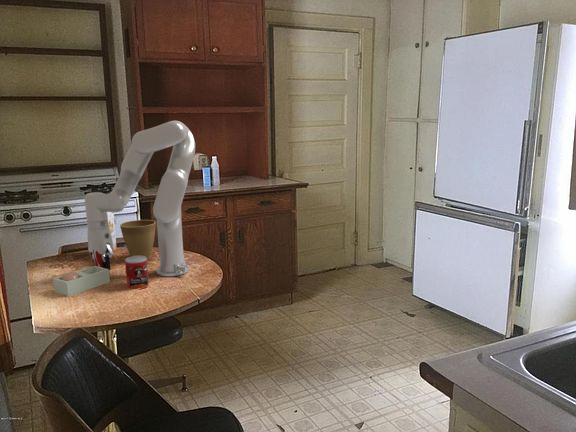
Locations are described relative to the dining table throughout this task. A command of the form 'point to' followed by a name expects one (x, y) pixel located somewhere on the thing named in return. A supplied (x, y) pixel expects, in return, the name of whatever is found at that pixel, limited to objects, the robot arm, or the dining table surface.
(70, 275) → the brown egg
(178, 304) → the dining table surface
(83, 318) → the dining table surface
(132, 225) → the plant pot
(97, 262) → the soda can
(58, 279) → the caddy
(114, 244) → the cracker box
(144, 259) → the canned food
